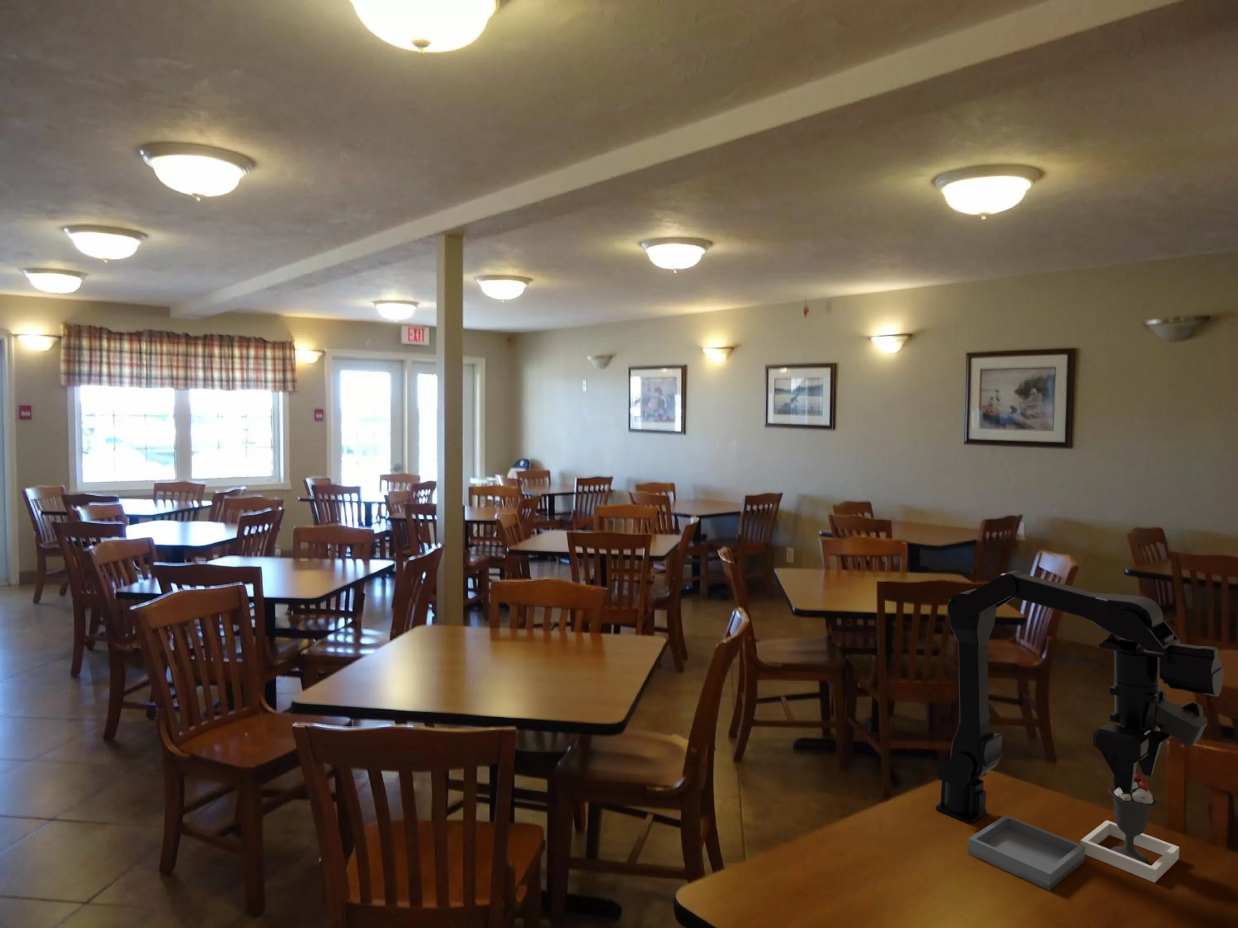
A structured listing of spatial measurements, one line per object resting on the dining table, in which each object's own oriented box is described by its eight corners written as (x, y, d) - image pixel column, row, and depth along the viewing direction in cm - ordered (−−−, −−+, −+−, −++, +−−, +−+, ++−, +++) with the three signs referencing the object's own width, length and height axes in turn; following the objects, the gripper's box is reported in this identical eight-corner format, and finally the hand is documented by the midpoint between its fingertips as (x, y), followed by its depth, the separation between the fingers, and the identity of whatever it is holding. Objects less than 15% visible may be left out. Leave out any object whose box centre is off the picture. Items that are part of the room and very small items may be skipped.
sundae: (1161, 869, 126) (1167, 776, 125) (1114, 863, 128) (1119, 771, 127) (1143, 847, 133) (1148, 758, 132) (1098, 842, 134) (1103, 754, 133)
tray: (967, 853, 130) (968, 838, 130) (1005, 828, 138) (1005, 814, 138) (1049, 890, 120) (1050, 874, 120) (1084, 861, 128) (1085, 846, 128)
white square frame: (1079, 851, 131) (1080, 840, 131) (1105, 831, 138) (1106, 819, 138) (1154, 882, 123) (1155, 869, 123) (1178, 858, 130) (1179, 846, 129)
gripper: (1180, 708, 110) (1181, 821, 110) (1218, 679, 122) (1218, 781, 123) (1091, 690, 118) (1091, 795, 119) (1134, 665, 131) (1135, 761, 131)
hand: (1137, 783), depth 123 cm, fingers open, 9 cm apart
